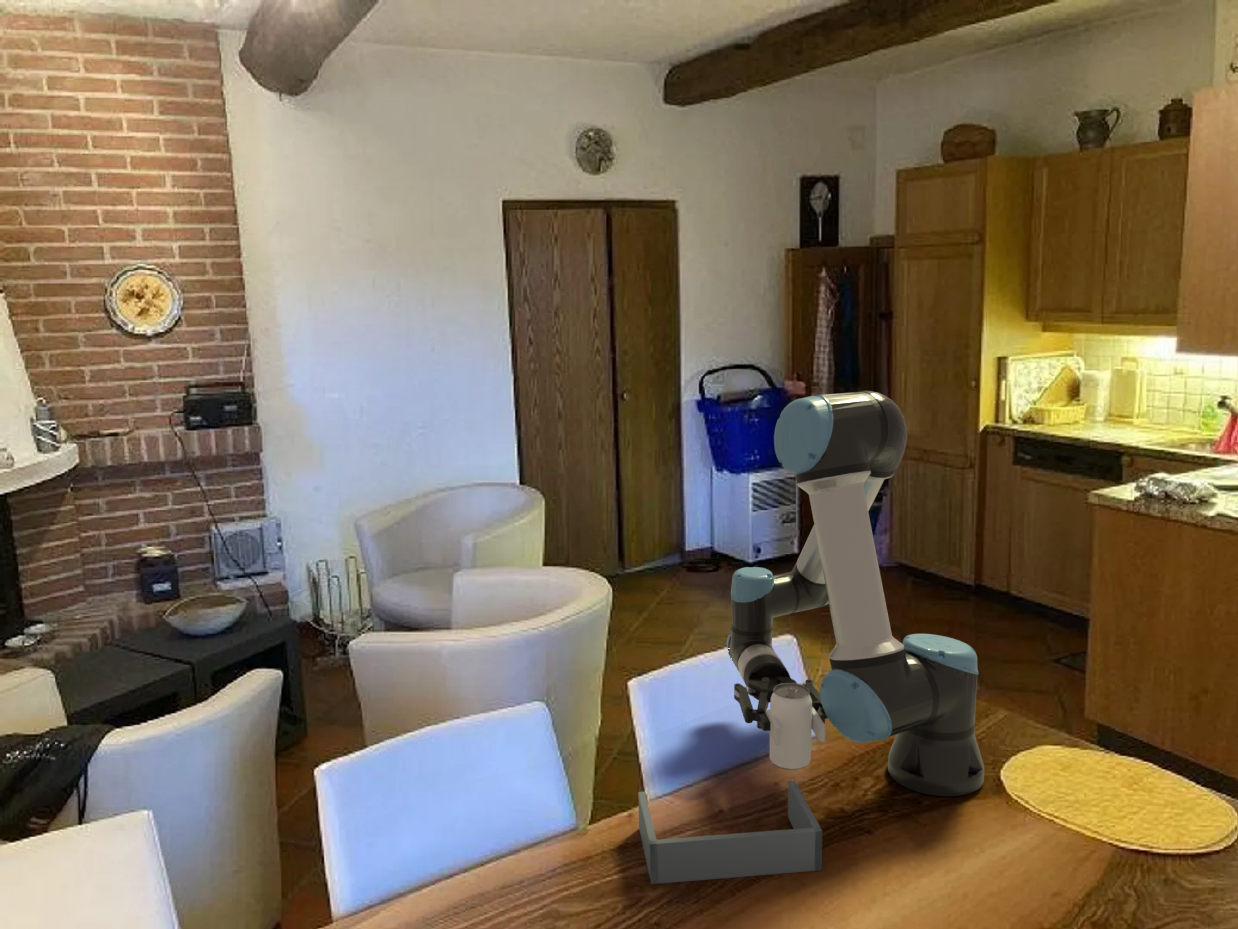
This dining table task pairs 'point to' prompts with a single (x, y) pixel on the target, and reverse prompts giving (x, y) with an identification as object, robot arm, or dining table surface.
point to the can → (792, 726)
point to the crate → (734, 848)
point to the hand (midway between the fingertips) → (800, 735)
